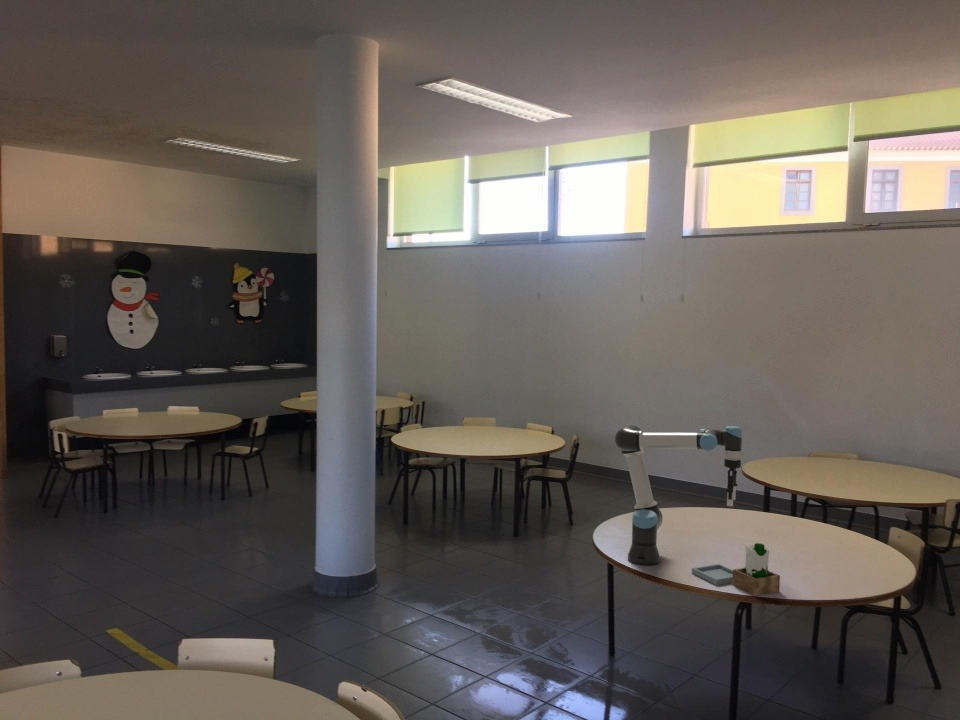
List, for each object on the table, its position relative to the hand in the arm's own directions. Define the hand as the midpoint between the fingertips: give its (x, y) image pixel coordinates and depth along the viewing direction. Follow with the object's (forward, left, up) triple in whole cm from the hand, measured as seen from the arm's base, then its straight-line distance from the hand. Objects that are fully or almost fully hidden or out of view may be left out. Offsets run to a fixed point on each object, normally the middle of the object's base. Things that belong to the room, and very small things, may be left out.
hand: (731, 502), depth 344 cm
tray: (-18, -13, -29) cm, 37 cm away
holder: (-12, -30, -29) cm, 44 cm away
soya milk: (-12, -30, -30) cm, 44 cm away
